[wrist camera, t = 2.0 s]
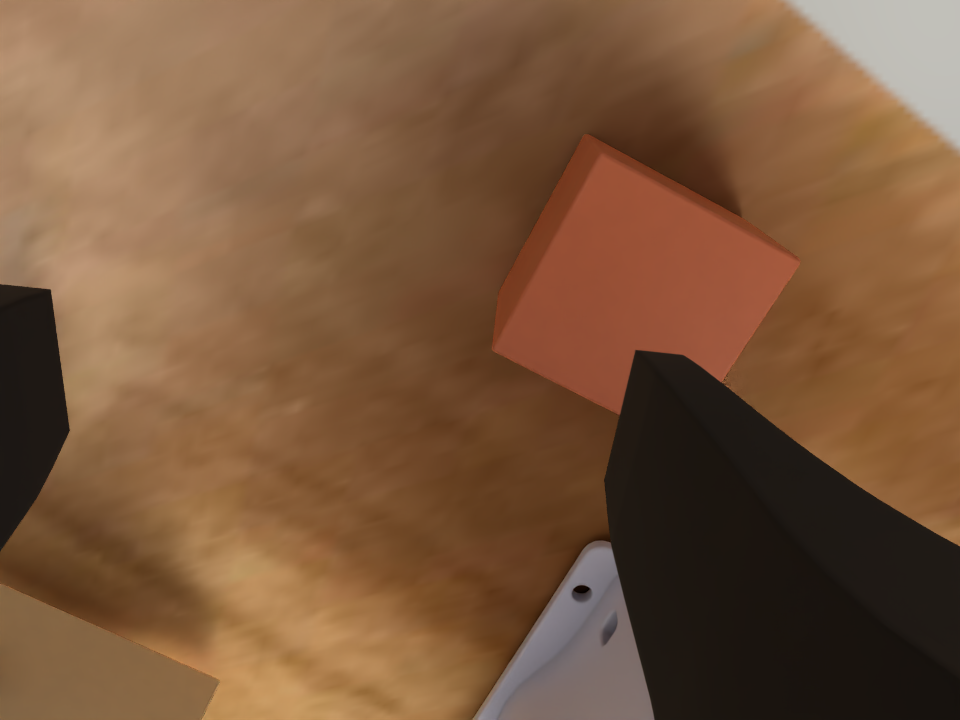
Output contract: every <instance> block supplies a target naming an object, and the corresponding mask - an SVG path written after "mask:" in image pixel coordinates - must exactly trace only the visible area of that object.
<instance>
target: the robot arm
mask: <svg viewBox="0 0 960 720" xmlns="http://www.w3.org/2000/svg"><path fill="white" fill-rule="evenodd" d="M69 431H70V429H69V422H68V414H67V407H66V399H65V392H64V384H63V377H62V370H61V362H60V355H59V347H58V340H57V333H56V325H55V318H54V310H53V303H52V295H51V289H41V288H31V287H22V286H12V285H2V284H0V551H1V549H2V548H3V547H4V545H5V544H6V542H7V541H8V539H9V538H10V536H11V535H12V534H13V532H14V531H15V529H16V528H17V526H18V525H19V523H20V522H21V520H22V519H23V518H24V516H25V515H26V513H27V512H28V510H29V509H30V507H31V506H32V504H33V503H34V501H35V500H36V498H37V497H38V495H39V493H40V491H41V489H42V487H43V485H44V483H45V481H46V479H47V477H48V476H49V474H50V472H51V470H52V468H53V466H54V464H55V461H56V459H57V457H58V455H59V453H60V451H61V448H62V446H63V444H64V442H65V440H66V438H67V436H68V433H69ZM604 482H605V493H606V504H607V514H608V523H609V531H610V540H611V543H610V542H607V541H603V540H601V541H594V542H592V543H589V544H588V545H587V546H586V547H585V548H584V549H583V550H582V552H581V553H580V555H579V556H578V558H577V560H576V561H575V563H574V564H573V566H572V567H571V569H570V570H569V572H568V573H567V575H566V576H565V578H564V580H563V581H562V583H561V584H560V586H559V587H558V589H557V590H556V592H555V593H554V595H553V596H552V598H551V600H550V601H549V603H548V604H547V606H546V607H545V609H544V610H543V612H542V613H541V615H540V616H539V618H538V620H537V621H536V623H535V624H534V626H533V627H532V629H531V630H530V632H529V633H528V635H527V636H526V638H525V639H524V641H523V643H522V644H521V646H520V647H519V649H518V650H517V652H516V653H515V655H514V656H513V658H512V659H511V661H510V663H509V664H508V666H507V667H506V669H505V670H504V672H503V673H502V675H501V676H500V678H499V679H498V681H497V683H496V684H495V686H494V687H493V689H492V690H491V692H490V693H489V695H488V696H487V698H486V699H485V701H484V702H483V704H482V706H481V707H480V709H479V710H478V712H477V713H476V715H475V716H474V718H473V719H472V720H960V546H958V545H956V544H954V543H952V542H950V541H949V540H947V539H945V538H943V537H941V536H939V535H938V534H936V533H934V532H932V531H931V530H929V529H927V528H926V527H924V526H922V525H921V524H919V523H917V522H916V521H914V520H912V519H911V518H909V517H907V516H906V515H904V514H902V513H900V512H899V511H897V510H895V509H894V508H892V507H890V506H889V505H887V504H885V503H884V502H882V501H880V500H879V499H877V498H876V497H874V496H873V495H871V494H870V493H868V492H866V491H865V490H863V489H862V488H860V487H859V486H857V485H856V484H854V483H853V482H851V481H850V480H849V479H847V478H846V477H844V476H843V475H841V474H840V473H839V472H837V471H836V470H834V469H833V468H831V467H830V466H829V465H827V464H826V463H824V462H823V461H821V460H820V459H819V458H817V457H816V456H814V455H813V454H812V453H810V452H809V451H808V450H806V449H805V448H804V447H802V446H801V445H800V444H798V443H797V442H796V441H794V440H793V439H792V438H790V437H789V436H788V435H786V434H785V433H784V432H783V431H781V430H780V429H779V428H777V427H776V426H775V425H774V424H772V423H771V422H770V421H768V420H767V419H766V418H765V417H763V416H762V415H761V414H760V413H758V412H757V411H756V410H755V409H753V408H752V407H751V406H750V405H748V404H747V403H746V402H745V401H743V400H742V399H741V398H740V397H739V396H737V395H736V394H735V393H734V392H732V391H731V390H730V389H729V388H727V387H726V386H725V385H724V384H722V383H721V382H720V381H719V380H717V379H716V378H715V377H714V376H712V375H711V374H710V373H708V372H707V371H706V370H705V369H703V368H702V367H701V366H699V365H698V364H696V363H695V362H694V361H692V360H691V359H689V358H687V357H686V356H684V355H681V354H671V353H661V352H652V351H642V350H635V354H634V358H633V362H632V366H631V370H630V375H629V379H628V383H627V387H626V391H625V395H624V400H623V404H622V408H621V412H620V416H619V420H618V425H617V429H616V433H615V437H614V441H613V446H612V450H611V454H610V458H609V462H608V466H607V471H606V475H605V479H604ZM579 585H585V586H588V587H589V588H590V590H588V591H587V592H586V593H582V594H581V593H576V592H575V591H574V590H573V589H574V588H575V587H576V586H579Z"/></svg>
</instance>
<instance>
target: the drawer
mask: <svg viewBox="0 0 960 720" xmlns="http://www.w3.org/2000/svg"><path fill="white" fill-rule="evenodd" d="M219 683H220V680H218V679H216V678H214V677H212V676H209V675H207V674H205V673H203V672H200V671H198V670H196V669H194V668H191V667H189V666H187V665H184V664H182V663H180V662H178V661H175V660H173V659H171V658H169V657H166V656H164V655H162V654H160V653H157V652H155V651H153V650H150V649H148V648H146V647H144V646H141V645H139V644H137V643H135V642H132V641H130V640H128V639H126V638H123V637H121V636H119V635H116V634H114V633H112V632H110V631H107V630H105V629H103V628H101V627H98V626H96V625H94V624H92V623H89V622H87V621H85V620H82V619H80V618H78V617H76V616H73V615H71V614H69V613H67V612H64V611H62V610H60V609H58V608H55V607H53V606H51V605H48V604H46V603H44V602H42V601H39V600H37V599H35V598H33V597H30V596H28V595H26V594H24V593H21V592H19V591H17V590H14V589H12V588H10V587H8V586H5V585H3V584H1V583H0V720H202V718H203V716H204V714H205V712H206V710H207V708H208V706H209V704H210V702H211V700H212V698H213V696H214V693H215V691H216V689H217V687H218V685H219Z"/></svg>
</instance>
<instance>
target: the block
mask: <svg viewBox="0 0 960 720" xmlns="http://www.w3.org/2000/svg"><path fill="white" fill-rule="evenodd" d="M800 261H801V260H800V259H799V258H798V257H797V256H795V255H794V254H793V253H791V252H790V251H788V250H787V249H786V248H784V247H783V246H781V245H780V244H779V243H777V242H776V241H774V240H773V239H772V238H770V237H769V236H767V235H766V234H765V233H763V232H762V231H760V230H759V229H757V228H756V227H755V226H753V225H752V224H750V223H749V222H748V221H746V220H745V219H743V218H741V217H739V216H738V215H736V214H734V213H732V212H730V211H728V210H727V209H725V208H723V207H721V206H719V205H717V204H716V203H714V202H712V201H710V200H708V199H706V198H705V197H703V196H701V195H699V194H697V193H695V192H694V191H692V190H690V189H688V188H686V187H684V186H682V185H681V184H679V183H677V182H675V181H673V180H671V179H670V178H668V177H666V176H664V175H662V174H660V173H659V172H657V171H655V170H653V169H651V168H649V167H648V166H646V165H644V164H642V163H640V162H638V161H637V160H635V159H633V158H631V157H629V156H627V155H626V154H624V153H622V152H620V151H618V150H616V149H615V148H613V147H611V146H609V145H607V144H605V143H603V142H602V141H600V140H598V139H596V138H594V137H592V136H591V135H589V134H585V135H584V136H583V137H582V139H581V141H580V143H579V145H578V147H577V148H576V150H575V152H574V154H573V156H572V158H571V159H570V161H569V163H568V165H567V167H566V169H565V171H564V172H563V174H562V176H561V178H560V180H559V182H558V183H557V185H556V187H555V189H554V191H553V193H552V195H551V196H550V198H549V200H548V202H547V204H546V206H545V207H544V209H543V211H542V213H541V215H540V217H539V219H538V220H537V222H536V224H535V226H534V228H533V230H532V231H531V233H530V235H529V237H528V239H527V241H526V243H525V244H524V246H523V248H522V250H521V252H520V254H519V255H518V257H517V259H516V261H515V263H514V265H513V267H512V268H511V270H510V272H509V274H508V276H507V278H506V279H505V281H504V283H503V285H502V287H501V289H500V291H499V293H498V301H497V309H496V318H495V326H494V334H493V343H492V350H493V351H494V352H495V353H497V354H499V355H501V356H503V357H505V358H507V359H509V360H511V361H513V362H515V363H517V364H519V365H521V366H523V367H525V368H527V369H529V370H531V371H533V372H535V373H537V374H539V375H541V376H543V377H545V378H547V379H549V380H551V381H553V382H555V383H557V384H559V385H561V386H563V387H565V388H567V389H569V390H571V391H573V392H575V393H576V394H578V395H580V396H582V397H584V398H586V399H588V400H590V401H592V402H594V403H596V404H598V405H600V406H602V407H604V408H606V409H608V410H610V411H612V412H614V413H616V414H618V415H620V412H621V408H622V404H623V400H624V395H625V391H626V387H627V383H628V379H629V375H630V370H631V366H632V362H633V358H634V354H635V350H642V351H652V352H661V353H671V354H681V355H684V356H686V357H687V358H689V359H691V360H692V361H694V362H695V363H696V364H698V365H699V366H701V367H702V368H703V369H705V370H706V371H707V372H708V373H710V374H711V375H712V376H714V377H715V378H716V379H717V380H719V381H720V382H722V381H723V379H724V378H725V376H726V375H727V373H728V372H729V370H730V369H731V367H732V366H733V364H734V363H735V361H736V359H737V358H738V356H739V355H740V353H741V352H742V350H743V349H744V347H745V346H746V344H747V343H748V341H749V340H750V338H751V337H752V335H753V334H754V332H755V331H756V329H757V328H758V326H759V325H760V323H761V322H762V320H763V319H764V317H765V316H766V314H767V313H768V311H769V310H770V308H771V307H772V305H773V304H774V302H775V301H776V299H777V298H778V296H779V295H780V293H781V292H782V290H783V289H784V287H785V286H786V284H787V283H788V281H789V280H790V278H791V277H792V275H793V274H794V272H795V271H796V269H797V268H798V266H799V265H800Z"/></svg>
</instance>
